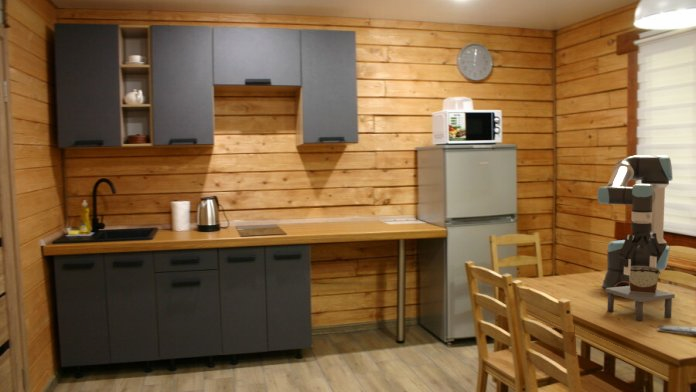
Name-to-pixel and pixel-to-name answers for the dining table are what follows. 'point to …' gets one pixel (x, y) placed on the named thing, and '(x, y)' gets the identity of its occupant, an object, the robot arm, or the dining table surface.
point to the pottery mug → (621, 285)
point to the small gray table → (639, 299)
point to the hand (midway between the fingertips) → (639, 273)
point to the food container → (643, 279)
